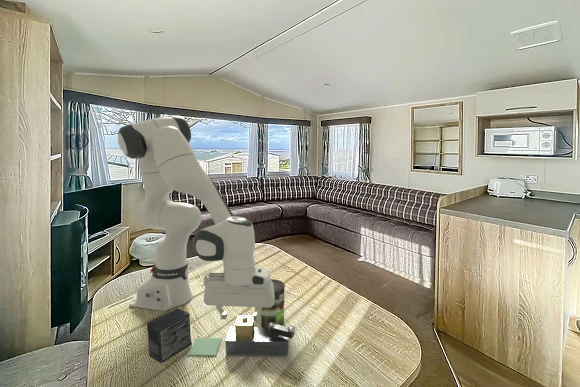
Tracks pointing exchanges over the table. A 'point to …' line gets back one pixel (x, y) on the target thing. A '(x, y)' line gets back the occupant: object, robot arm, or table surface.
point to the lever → (281, 330)
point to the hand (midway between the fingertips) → (239, 319)
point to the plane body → (257, 344)
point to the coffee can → (273, 308)
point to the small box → (169, 335)
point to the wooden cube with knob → (244, 327)
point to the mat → (205, 347)
